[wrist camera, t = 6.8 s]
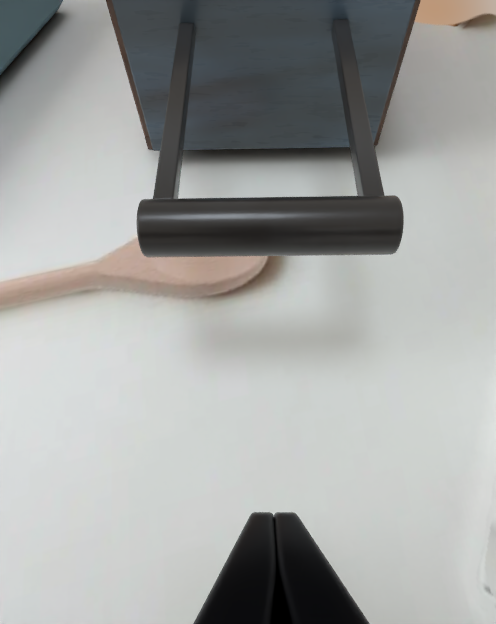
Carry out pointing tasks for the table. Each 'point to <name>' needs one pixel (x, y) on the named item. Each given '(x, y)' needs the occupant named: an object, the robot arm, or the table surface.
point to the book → (21, 25)
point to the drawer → (265, 116)
